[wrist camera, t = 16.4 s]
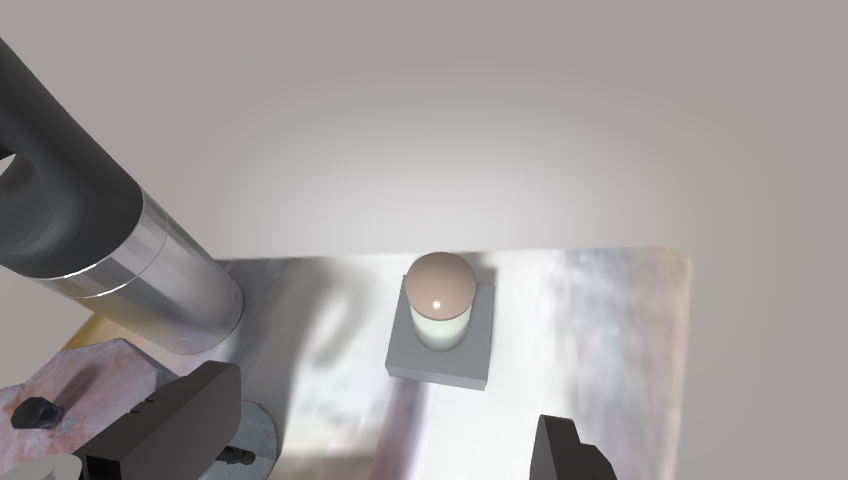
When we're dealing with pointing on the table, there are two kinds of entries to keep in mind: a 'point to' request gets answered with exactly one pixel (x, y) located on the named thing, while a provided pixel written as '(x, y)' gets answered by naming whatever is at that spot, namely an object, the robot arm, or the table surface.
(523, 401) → the table surface
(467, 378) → the stand
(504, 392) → the table surface
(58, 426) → the moka pot
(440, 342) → the canister
